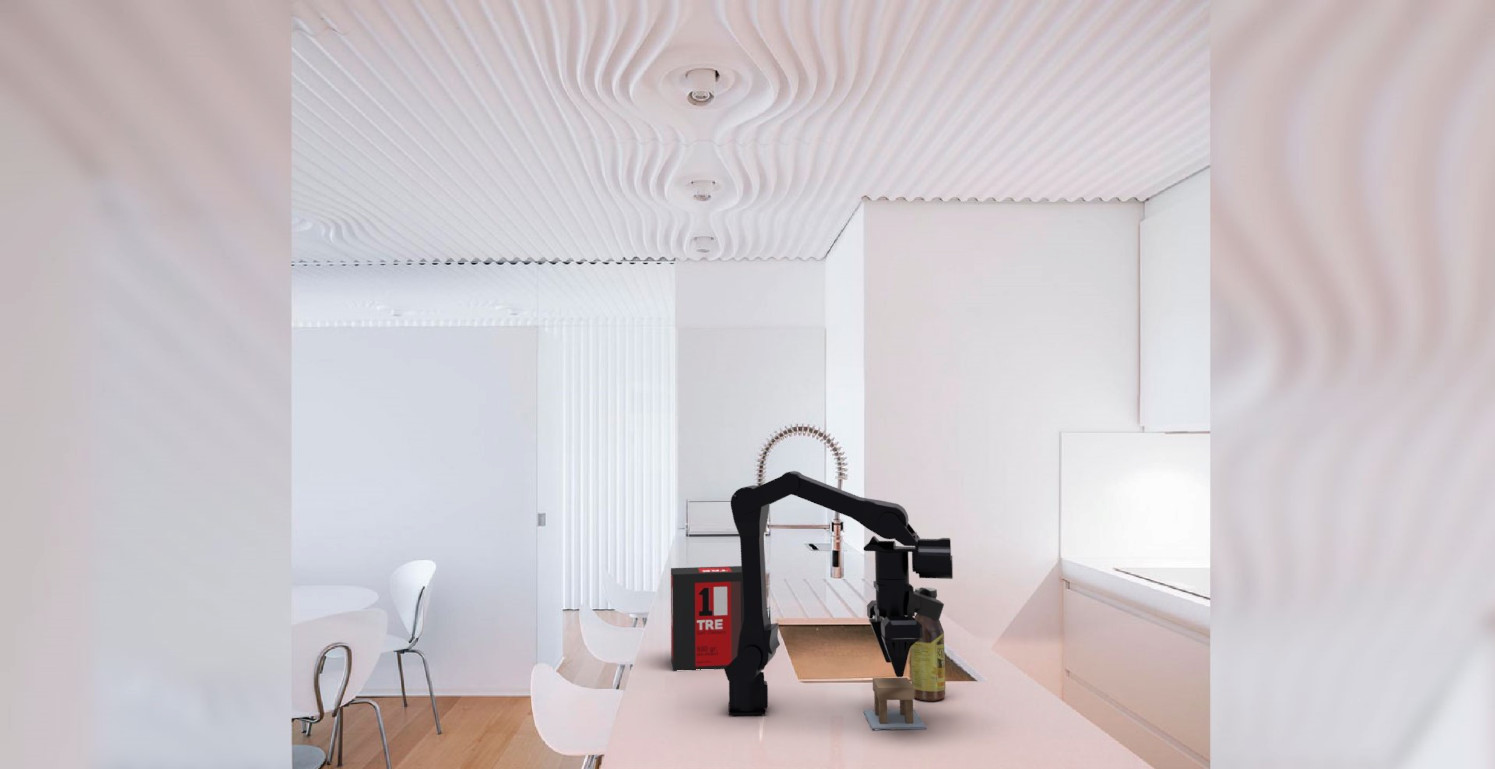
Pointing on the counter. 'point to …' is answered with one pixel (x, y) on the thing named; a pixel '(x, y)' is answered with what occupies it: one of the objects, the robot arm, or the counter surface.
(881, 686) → the stool
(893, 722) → the pad
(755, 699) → the robot arm
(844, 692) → the counter surface
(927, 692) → the sauce bottle
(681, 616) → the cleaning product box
